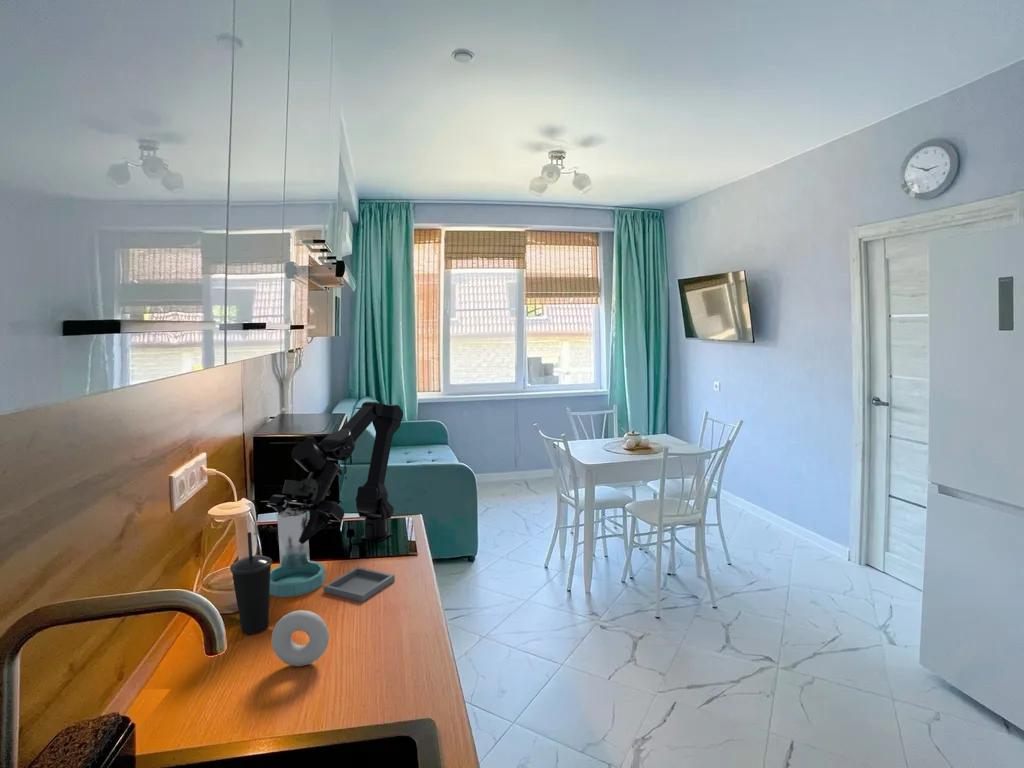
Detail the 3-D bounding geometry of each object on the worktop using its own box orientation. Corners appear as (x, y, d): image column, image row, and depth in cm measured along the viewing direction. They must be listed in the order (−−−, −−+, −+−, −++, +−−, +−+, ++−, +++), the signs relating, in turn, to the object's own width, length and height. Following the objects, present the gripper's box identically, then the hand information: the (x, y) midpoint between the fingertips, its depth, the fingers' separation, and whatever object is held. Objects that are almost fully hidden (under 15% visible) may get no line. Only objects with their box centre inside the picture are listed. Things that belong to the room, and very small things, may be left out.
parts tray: (357, 575, 135) (357, 566, 135) (394, 583, 130) (394, 575, 130) (324, 595, 125) (323, 586, 125) (362, 605, 120) (362, 595, 120)
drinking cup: (265, 639, 107) (259, 539, 105) (226, 639, 107) (219, 540, 105) (282, 618, 115) (276, 525, 113) (246, 618, 115) (240, 526, 113)
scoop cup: (304, 555, 133) (301, 502, 132) (313, 563, 128) (310, 509, 127) (277, 562, 130) (273, 508, 128) (284, 571, 124) (281, 515, 123)
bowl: (297, 570, 138) (296, 557, 138) (336, 580, 132) (336, 566, 132) (253, 593, 126) (252, 578, 126) (294, 604, 121) (293, 589, 120)
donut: (332, 657, 101) (330, 605, 100) (327, 668, 98) (325, 614, 97) (276, 660, 100) (273, 607, 99) (269, 672, 97) (266, 617, 96)
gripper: (270, 462, 134) (236, 521, 124) (334, 467, 127) (303, 530, 118) (295, 485, 142) (265, 542, 133) (356, 491, 135) (329, 551, 126)
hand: (289, 541), depth 127 cm, fingers closed on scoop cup, 6 cm apart
